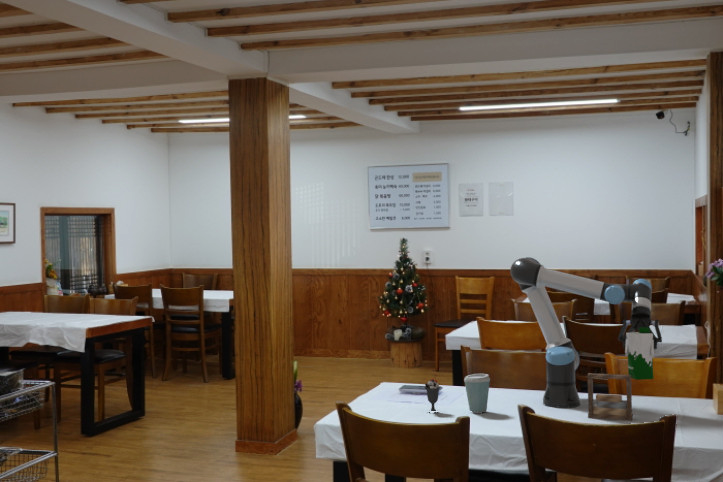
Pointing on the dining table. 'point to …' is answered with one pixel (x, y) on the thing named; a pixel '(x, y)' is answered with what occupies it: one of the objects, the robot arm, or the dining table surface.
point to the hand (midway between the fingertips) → (639, 354)
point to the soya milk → (640, 354)
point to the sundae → (432, 392)
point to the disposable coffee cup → (477, 391)
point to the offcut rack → (610, 400)
